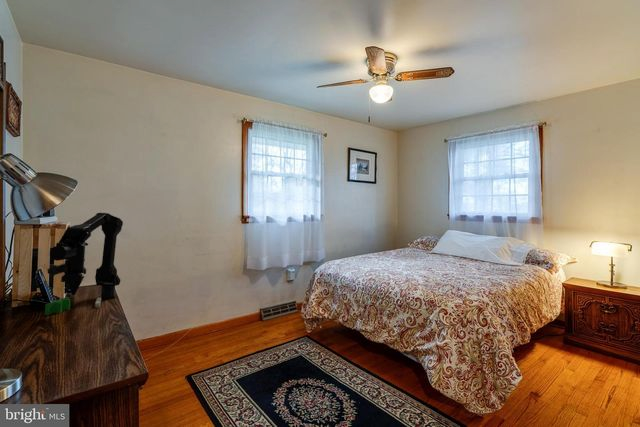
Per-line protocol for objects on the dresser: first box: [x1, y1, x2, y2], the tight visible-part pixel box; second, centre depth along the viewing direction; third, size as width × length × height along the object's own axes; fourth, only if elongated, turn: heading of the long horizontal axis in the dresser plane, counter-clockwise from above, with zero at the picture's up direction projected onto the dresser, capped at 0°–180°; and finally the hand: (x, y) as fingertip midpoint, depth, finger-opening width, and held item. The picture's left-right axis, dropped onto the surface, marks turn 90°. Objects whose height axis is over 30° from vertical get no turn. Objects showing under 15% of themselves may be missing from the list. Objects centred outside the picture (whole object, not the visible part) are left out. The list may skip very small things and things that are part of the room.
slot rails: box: [54, 296, 102, 309], centre depth 134 cm, size 12×18×2 cm
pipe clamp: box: [44, 296, 71, 316], centre depth 127 cm, size 11×4×5 cm, turn 4°
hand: (73, 294), depth 125 cm, fingers closed
